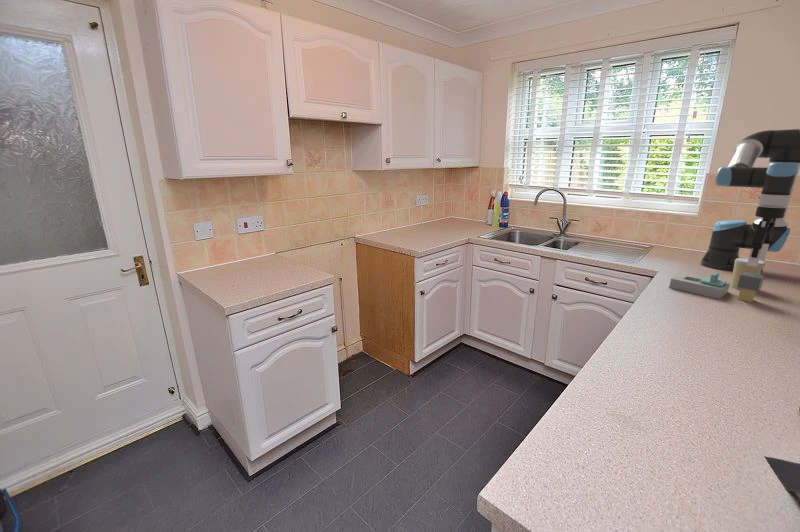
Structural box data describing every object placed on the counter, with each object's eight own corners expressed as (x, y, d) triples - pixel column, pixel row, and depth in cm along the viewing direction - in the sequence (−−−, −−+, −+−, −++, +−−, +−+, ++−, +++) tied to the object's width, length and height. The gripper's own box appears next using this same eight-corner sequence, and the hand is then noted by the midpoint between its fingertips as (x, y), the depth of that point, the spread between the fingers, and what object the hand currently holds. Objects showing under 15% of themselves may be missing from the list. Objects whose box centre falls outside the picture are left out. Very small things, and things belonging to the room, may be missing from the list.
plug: (737, 295, 149) (744, 271, 146) (757, 300, 144) (764, 275, 142) (733, 299, 145) (740, 274, 142) (754, 303, 141) (761, 278, 138)
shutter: (705, 278, 156) (707, 270, 155) (726, 283, 151) (728, 274, 149) (699, 282, 152) (702, 273, 151) (721, 286, 146) (724, 277, 145)
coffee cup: (763, 292, 153) (771, 264, 149) (737, 290, 154) (744, 262, 151) (747, 284, 161) (755, 258, 158) (723, 283, 163) (730, 257, 160)
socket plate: (678, 281, 165) (680, 273, 164) (727, 292, 153) (730, 283, 152) (669, 287, 158) (671, 278, 157) (719, 298, 146) (722, 289, 144)
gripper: (764, 203, 145) (750, 255, 151) (750, 207, 130) (734, 266, 136) (791, 205, 139) (775, 259, 145) (780, 210, 124) (762, 270, 130)
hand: (755, 263), depth 140 cm, fingers open, 13 cm apart
